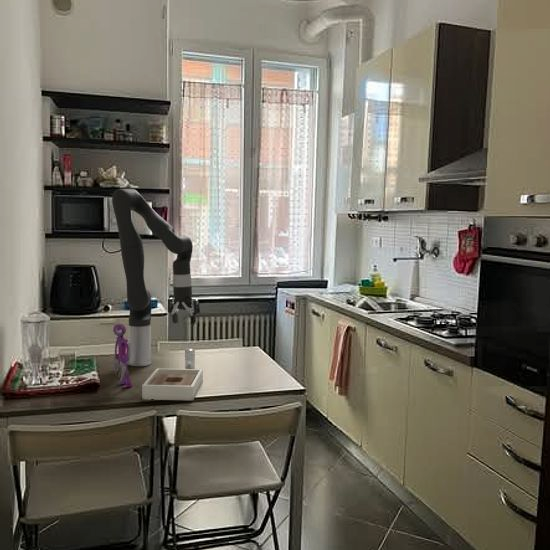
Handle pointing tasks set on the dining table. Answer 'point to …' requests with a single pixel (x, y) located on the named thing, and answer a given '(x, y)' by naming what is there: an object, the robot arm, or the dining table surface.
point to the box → (172, 386)
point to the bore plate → (174, 379)
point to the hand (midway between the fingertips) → (184, 323)
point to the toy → (121, 355)
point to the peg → (189, 358)
